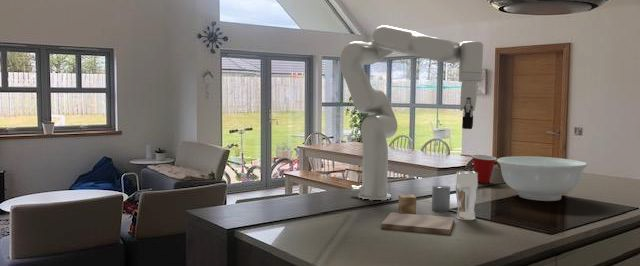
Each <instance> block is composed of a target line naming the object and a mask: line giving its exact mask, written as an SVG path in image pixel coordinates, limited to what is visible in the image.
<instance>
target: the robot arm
mask: <svg viewBox="0 0 640 266" xmlns="http://www.w3.org/2000/svg"><path fill="white" fill-rule="evenodd" d="M371 39H372V40H370V41H369V42H365V41H360V40H359V41H357V40H354V41H350V42H349V43H347V44H346V45H345V46H344V48H343V49H341V50H342V51H341V53H340V55H339V68H340V72H341V74H342V76H343V79H344V81H345V83H346V86H347V88H348V92H349V94H350V97H351V99H352V101H353V104H354V106H355V109H356V110H357V111H358V112H359V113H362V114H369V115H368V116H367V117H366V118H364V119H363V122H362V123H361V126H360V133H361V140H362V179H361V181H362V183H361V185H359V186H358V185H351V191H352V192H358V193H357V198H358V199H360V198H362V199H361V200H364V199H369V200H368V201H373V200H381V201H388V200H391V199H392V195H391V194H390V193H388V179H389V178H388V175H389V174H388V173H389V171H388V170H389V169H388V168H389V147H388V142H387V139H389V138H392V137H393V136H394V135H395V134H396V133H397V130H398V126H399V125H398V121H397V118H396V116H395V112H394V111H393V108H392V106H391V103H390V101H389V98H388V97H387V95H386V94H385V92H384V91H383V90H381V89H379V88H375V87H373V86H372V83H371V82H370V79H369V76H368V74H367V73H366V71H365V69H364V67H363V66H362V65H364V66H365V65H366V66H369V65H370V66H371V65H374V64H376V63H377V62H379V61H381V60H383V59H385V58H386V57H388V56H390V54H392V53H394V52H396V53H399V54H404V55H408V56H413V57H414V56H415V57H418V58H419V57H420V58H424V59H428V60H432V61H436V62H441V63H447V64H457V63H459V66H458V67H459V69H458V71H459V72H458V82H460V83H461V87H460V100H459V111H461V112H462V111H463V116H462V127H461V128H462V129H463V130H472V129H473V127H474V125H473V124H474V115H473V113H474V111H475V110H476V105H477V97H478V85H479V84H478V83H482V79H483V77H482V75H483V61H484V60H483V58H484V57H483V56H484V44H483V42H482V41H477V40H474V41H473V40H467V41H462V42H459V41H453V40H449V39H443V38H440V37H439V38H438V37H436V36H435V37H433V36H429V35H425V34H422V33H419V32H418V31H413V30H408V29H404V28H399V27H394V26H389V25H380V26H377V27H376V28H375V29H374V30H373V32H372V36H371ZM390 198H391V199H390ZM387 199H388V200H387Z"/></svg>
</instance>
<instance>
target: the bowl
mask: <svg viewBox="0 0 640 266" xmlns="http://www.w3.org/2000/svg"><path fill="white" fill-rule="evenodd" d="M496 162H497V163H498V164H499V166H500V170H501V176H502V179H503V181H504V183H505V184H506V185H507V186H508V187H509V188H511V189H512V190H514V191H516V192H518V197H519V198H521V199H526V200H530V201H538V202H539V201H541V202H543V201H544V202H555V201H560V200H561V199H562V196H563V195H565V194H567V193H570V192H572V191H573V190H574V189H575V188H576V187H577V186H578V185H579V183H580V181H581V179H582V174H583V171H584V169H585V168H586V167H587V166H588V163H587V162H584V161H580V160H576V159H569V158H560V157H550V156H548V157H547V156H529V155H527V156H524V155H522V156H520V155H519V156H518V155H517V156H503V157H499V158H497V159H496Z"/></svg>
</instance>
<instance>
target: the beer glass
mask: <svg viewBox="0 0 640 266" xmlns="http://www.w3.org/2000/svg"><path fill="white" fill-rule="evenodd" d="M478 187H479V183H478V173H477V172H474V170H473V171H471V170H458V171H456V176H455V194H456V195H455V196H456V201H457V209H456V214H455V218H456V219H458V220H462V221H474V220H476V212H475V205H476V204H475V203H476V199H477V196H478V189H479V188H478Z"/></svg>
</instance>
